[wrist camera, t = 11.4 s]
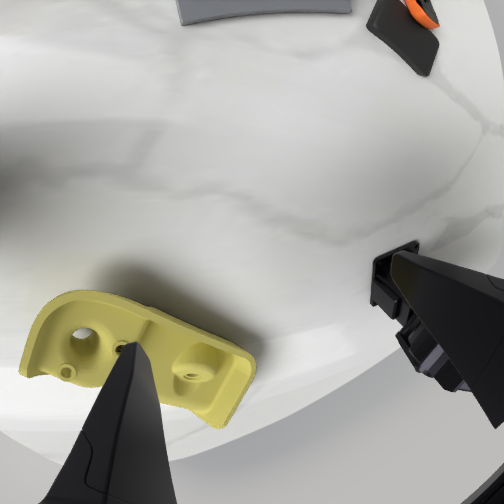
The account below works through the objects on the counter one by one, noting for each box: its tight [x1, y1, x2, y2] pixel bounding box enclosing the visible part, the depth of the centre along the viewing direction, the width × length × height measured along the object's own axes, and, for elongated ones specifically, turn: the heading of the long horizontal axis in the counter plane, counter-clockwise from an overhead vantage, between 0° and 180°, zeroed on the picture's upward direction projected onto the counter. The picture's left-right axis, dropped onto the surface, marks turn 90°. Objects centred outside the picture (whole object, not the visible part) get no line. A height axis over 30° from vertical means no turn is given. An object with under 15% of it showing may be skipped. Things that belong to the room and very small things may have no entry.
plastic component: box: [19, 290, 256, 429], centre depth 23 cm, size 20×7×10 cm
